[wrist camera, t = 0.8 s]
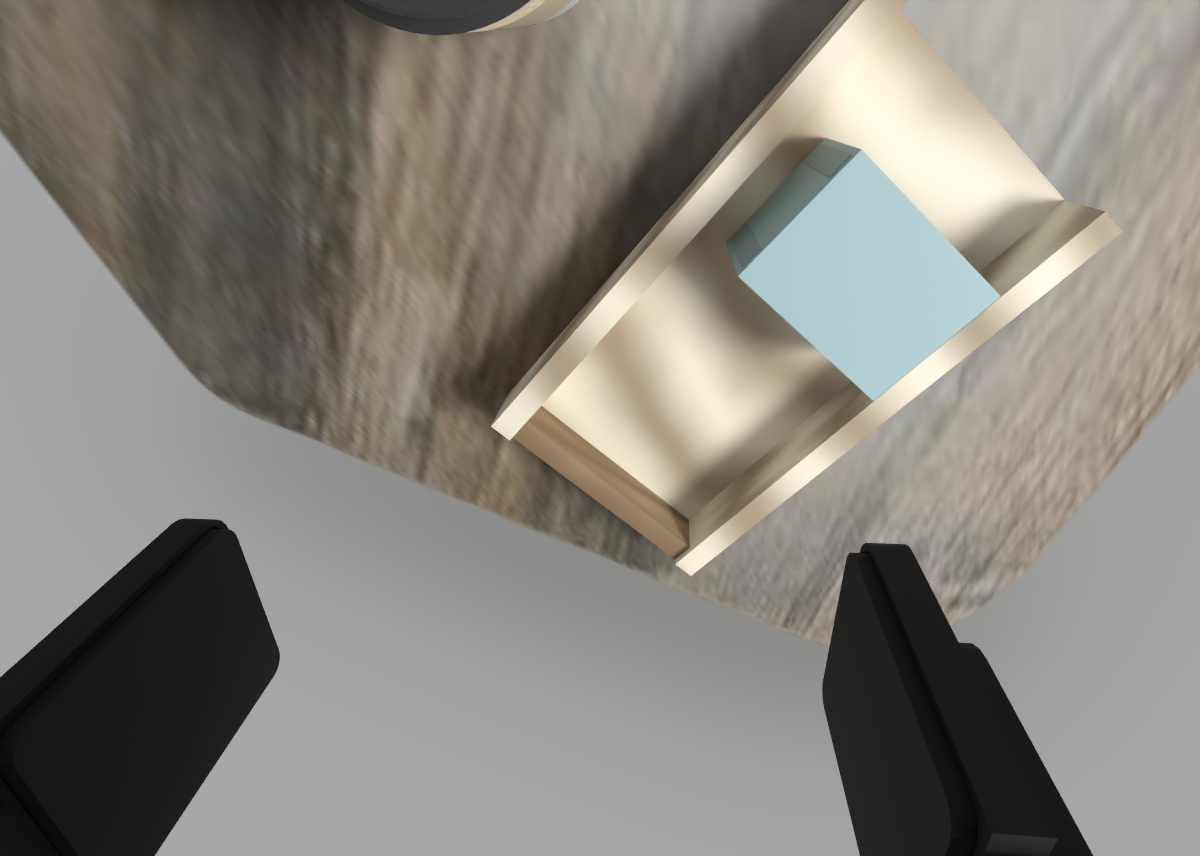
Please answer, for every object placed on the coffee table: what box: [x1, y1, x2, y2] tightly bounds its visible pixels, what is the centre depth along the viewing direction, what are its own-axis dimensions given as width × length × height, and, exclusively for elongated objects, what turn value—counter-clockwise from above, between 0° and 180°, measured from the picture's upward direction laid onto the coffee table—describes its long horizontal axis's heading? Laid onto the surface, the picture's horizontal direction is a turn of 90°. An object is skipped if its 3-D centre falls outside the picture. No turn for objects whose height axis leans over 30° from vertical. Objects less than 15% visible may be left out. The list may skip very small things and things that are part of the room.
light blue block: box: [726, 138, 1001, 401], centre depth 28 cm, size 6×8×6 cm
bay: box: [491, 0, 1122, 576], centre depth 31 cm, size 25×14×4 cm, turn 140°
